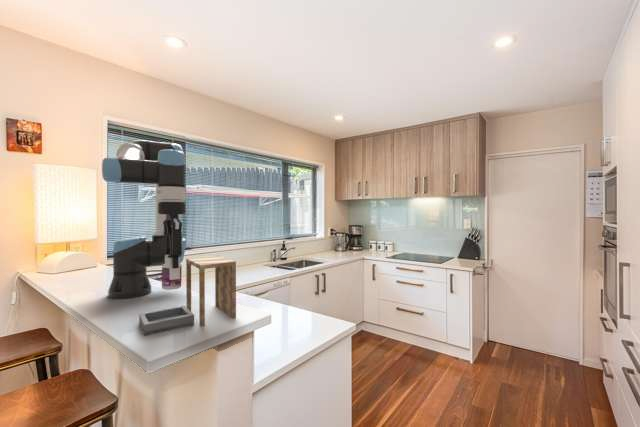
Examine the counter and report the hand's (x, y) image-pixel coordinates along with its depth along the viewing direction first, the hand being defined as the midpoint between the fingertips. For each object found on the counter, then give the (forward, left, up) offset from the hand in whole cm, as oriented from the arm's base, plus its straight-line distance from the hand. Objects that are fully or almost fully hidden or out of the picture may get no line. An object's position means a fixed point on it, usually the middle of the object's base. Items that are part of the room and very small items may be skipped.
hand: (172, 276), depth 91 cm
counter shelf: (0, +12, -14) cm, 18 cm away
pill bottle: (0, 0, -4) cm, 4 cm away
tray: (0, -2, -14) cm, 14 cm away
